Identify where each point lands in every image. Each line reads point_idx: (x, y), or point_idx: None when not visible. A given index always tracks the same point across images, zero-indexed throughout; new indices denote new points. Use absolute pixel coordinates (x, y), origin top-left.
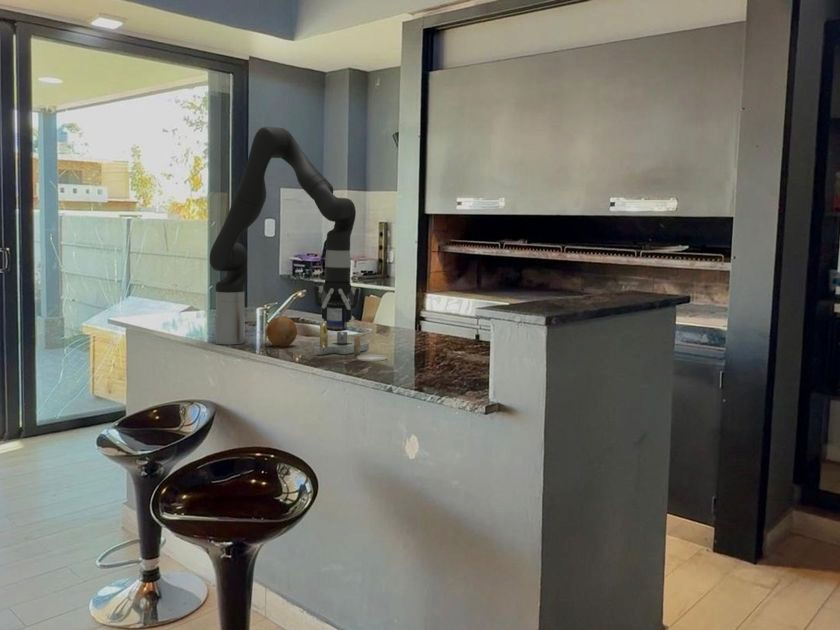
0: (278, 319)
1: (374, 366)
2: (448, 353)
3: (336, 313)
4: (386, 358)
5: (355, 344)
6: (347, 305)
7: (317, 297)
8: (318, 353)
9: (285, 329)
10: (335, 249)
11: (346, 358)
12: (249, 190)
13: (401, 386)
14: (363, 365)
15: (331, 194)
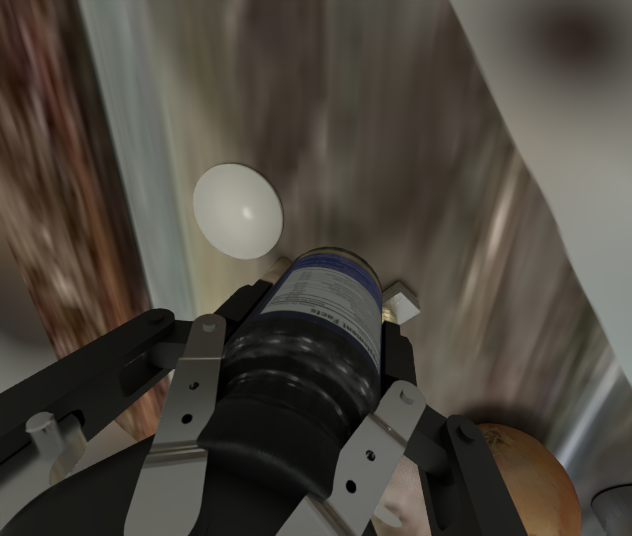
0: (556, 532)
1: (215, 46)
2: (79, 276)
3: (312, 291)
4: (195, 199)
5: (275, 276)
6: (208, 340)
7: (492, 516)
8: (404, 287)
9: (514, 468)
10: None
11: (316, 226)
12: None
13: None
14: (255, 70)
15: None
